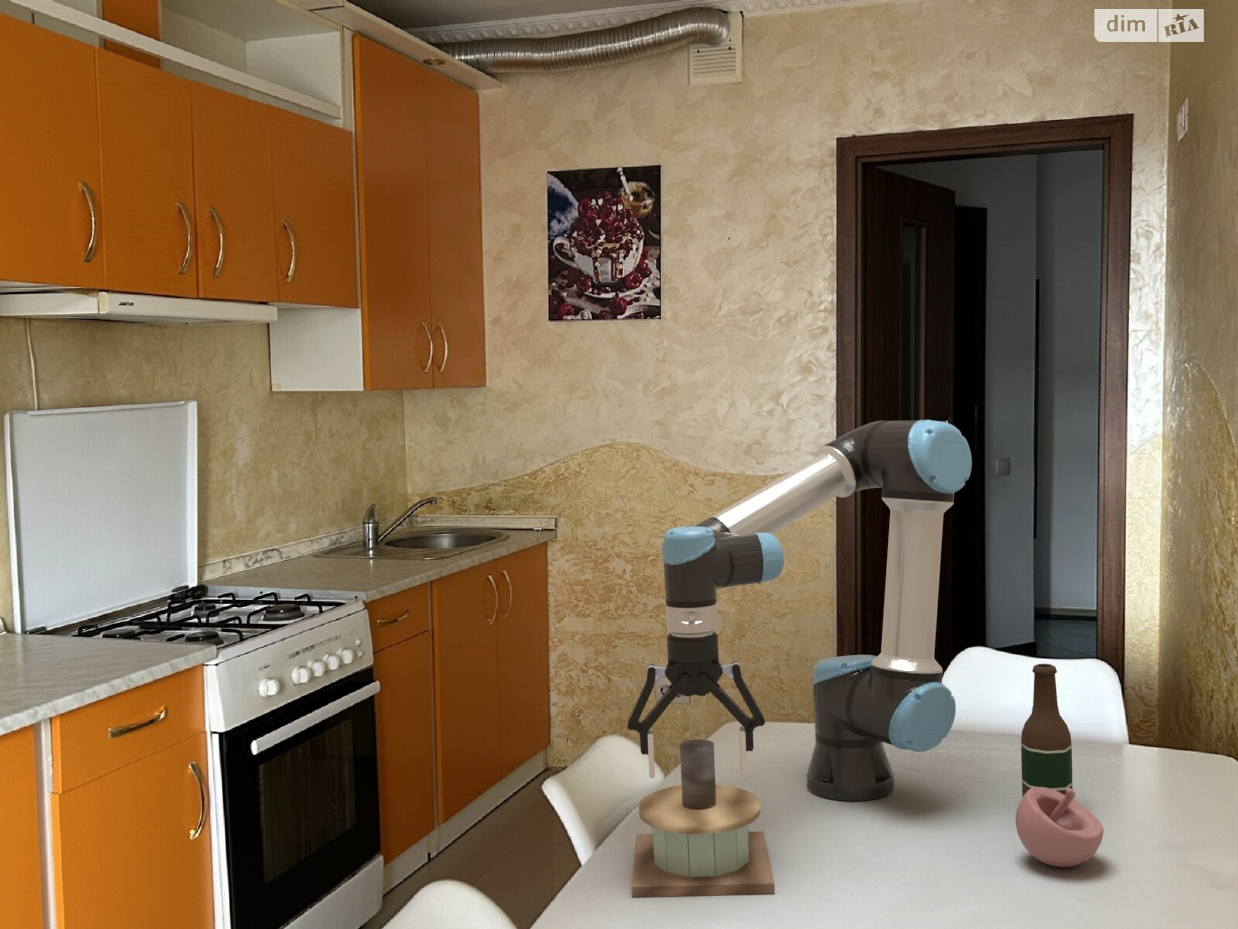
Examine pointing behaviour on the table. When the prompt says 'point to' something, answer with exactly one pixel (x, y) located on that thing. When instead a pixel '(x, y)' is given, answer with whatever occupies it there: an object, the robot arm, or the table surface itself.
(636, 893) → the serving board
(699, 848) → the bowl
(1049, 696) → the beer bottle
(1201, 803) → the table surface
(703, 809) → the lid
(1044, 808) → the mortar and pestle
